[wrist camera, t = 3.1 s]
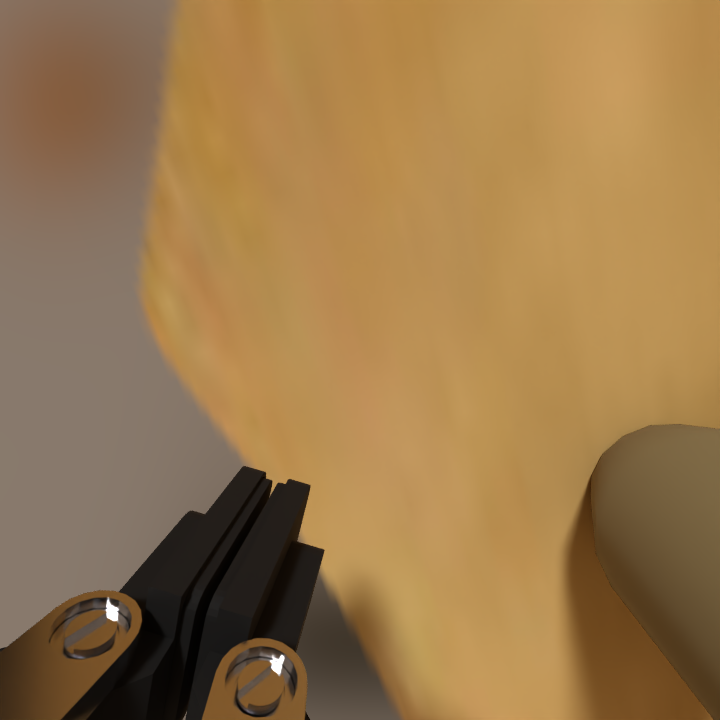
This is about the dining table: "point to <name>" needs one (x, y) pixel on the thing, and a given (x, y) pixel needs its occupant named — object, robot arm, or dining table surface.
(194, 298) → the dining table surface
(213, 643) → the robot arm
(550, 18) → the dining table surface
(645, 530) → the squeeze bottle
